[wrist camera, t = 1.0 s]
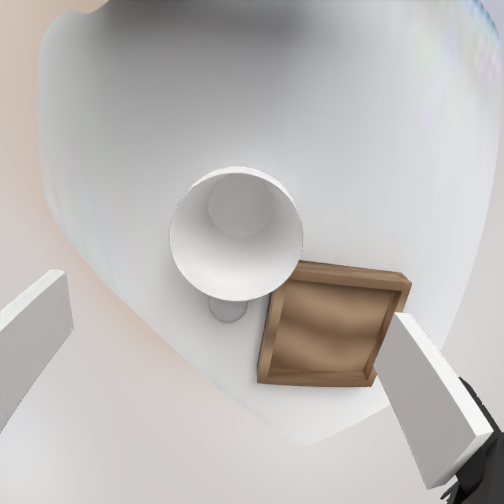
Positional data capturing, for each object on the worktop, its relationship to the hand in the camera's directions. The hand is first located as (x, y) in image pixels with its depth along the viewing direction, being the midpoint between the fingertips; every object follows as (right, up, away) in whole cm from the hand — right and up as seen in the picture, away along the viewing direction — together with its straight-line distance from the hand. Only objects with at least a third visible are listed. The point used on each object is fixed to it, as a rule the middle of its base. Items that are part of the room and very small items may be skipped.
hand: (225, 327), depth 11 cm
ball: (-1, -2, +23) cm, 23 cm away
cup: (0, +8, +20) cm, 22 cm away
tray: (+10, -6, +25) cm, 27 cm away
